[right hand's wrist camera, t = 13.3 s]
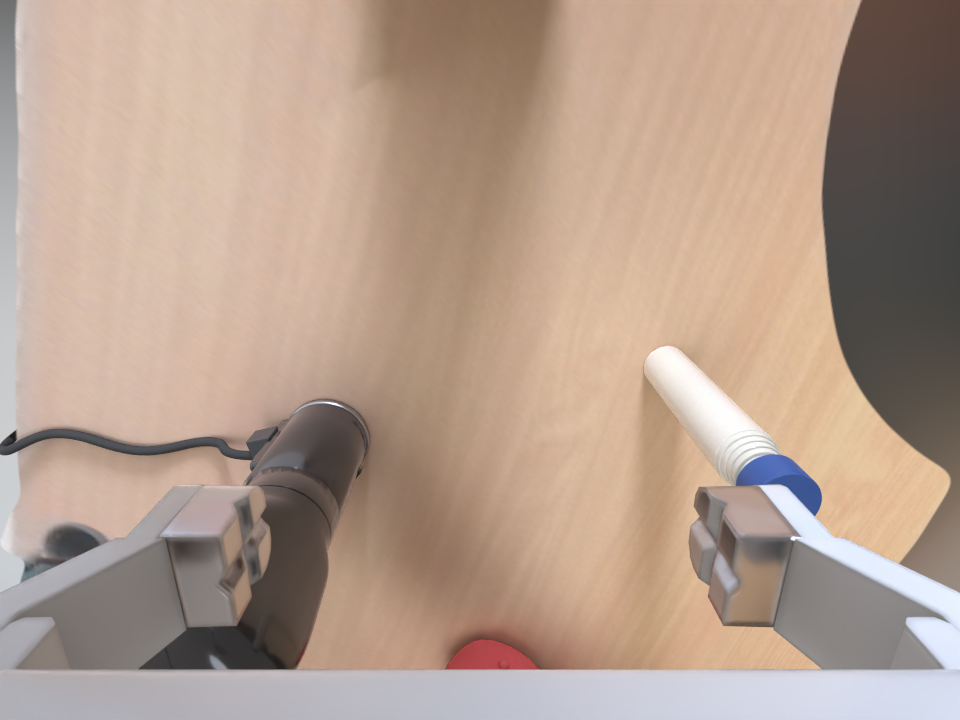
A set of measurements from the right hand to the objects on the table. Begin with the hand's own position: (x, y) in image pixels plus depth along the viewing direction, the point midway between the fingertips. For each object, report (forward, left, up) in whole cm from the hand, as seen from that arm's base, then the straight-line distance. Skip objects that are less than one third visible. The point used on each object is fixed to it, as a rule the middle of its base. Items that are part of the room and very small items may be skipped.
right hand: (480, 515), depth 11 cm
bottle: (+15, +20, -48) cm, 54 cm away
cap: (+15, +20, -25) cm, 35 cm away
